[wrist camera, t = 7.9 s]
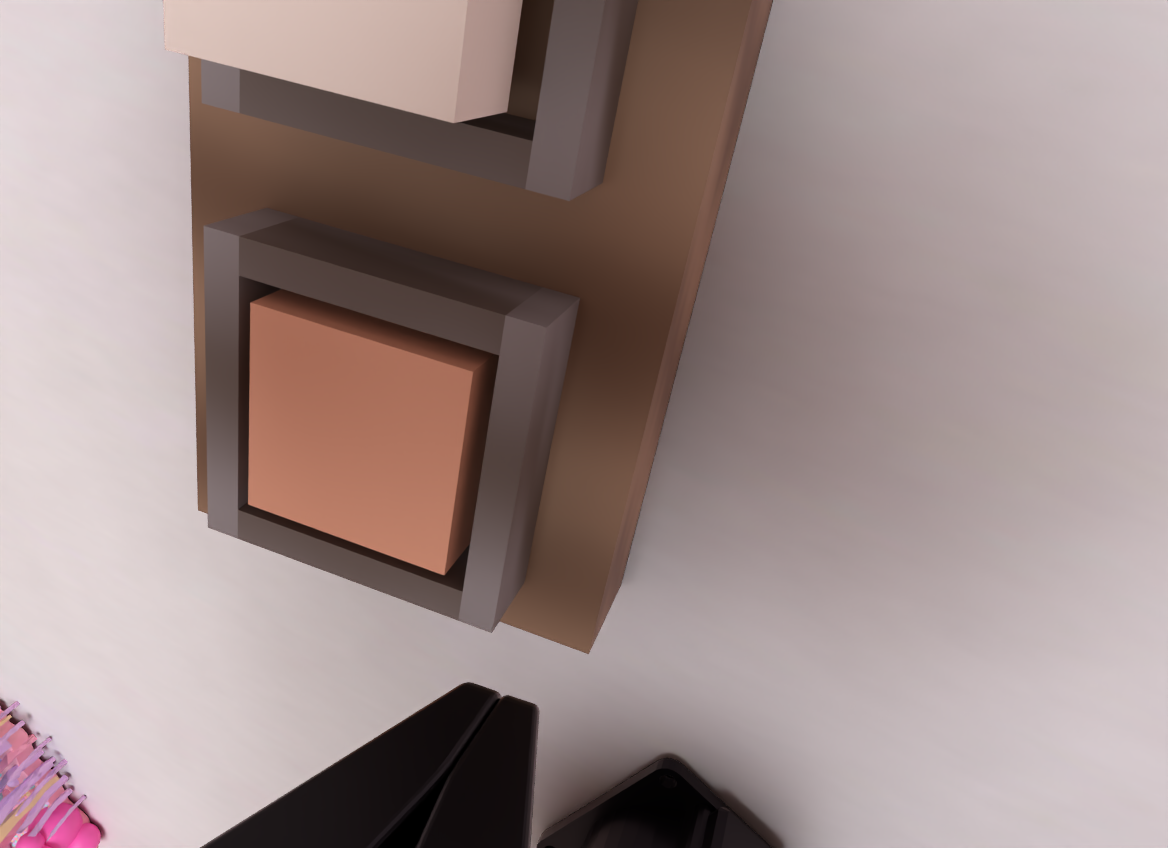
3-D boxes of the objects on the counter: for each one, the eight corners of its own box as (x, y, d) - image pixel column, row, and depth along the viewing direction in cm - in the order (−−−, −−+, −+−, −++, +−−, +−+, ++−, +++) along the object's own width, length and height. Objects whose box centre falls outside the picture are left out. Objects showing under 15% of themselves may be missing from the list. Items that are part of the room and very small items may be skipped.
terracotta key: (482, 528, 20) (444, 575, 18) (300, 465, 21) (248, 504, 19) (512, 338, 18) (472, 372, 16) (308, 277, 19) (250, 302, 17)
